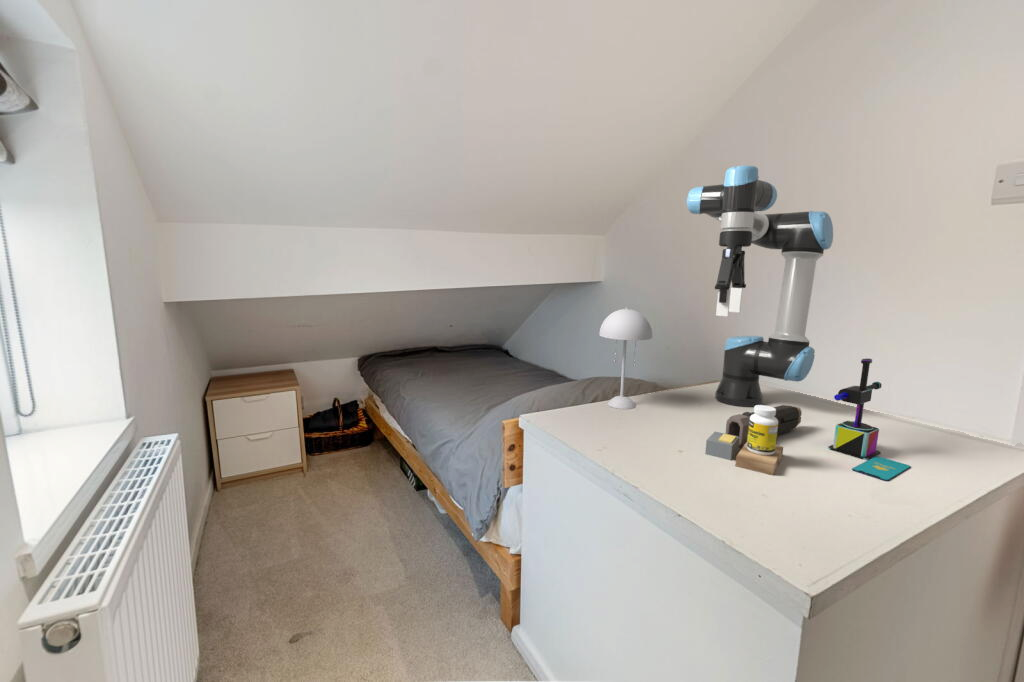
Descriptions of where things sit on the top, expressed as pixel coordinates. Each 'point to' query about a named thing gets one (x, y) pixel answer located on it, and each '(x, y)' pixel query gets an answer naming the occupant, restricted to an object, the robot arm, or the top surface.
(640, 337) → the lamp
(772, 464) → the board
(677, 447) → the top surface
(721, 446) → the block
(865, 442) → the colourful clamp stand
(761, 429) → the pill bottle
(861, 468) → the smartphone
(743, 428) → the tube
